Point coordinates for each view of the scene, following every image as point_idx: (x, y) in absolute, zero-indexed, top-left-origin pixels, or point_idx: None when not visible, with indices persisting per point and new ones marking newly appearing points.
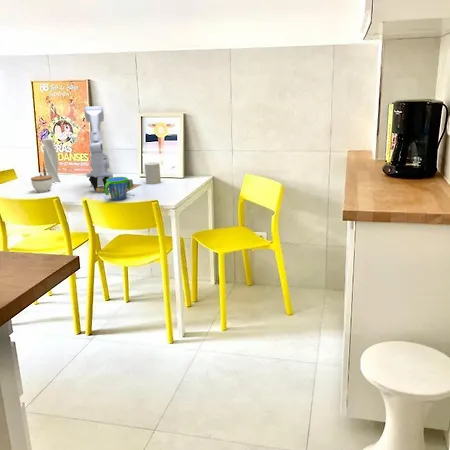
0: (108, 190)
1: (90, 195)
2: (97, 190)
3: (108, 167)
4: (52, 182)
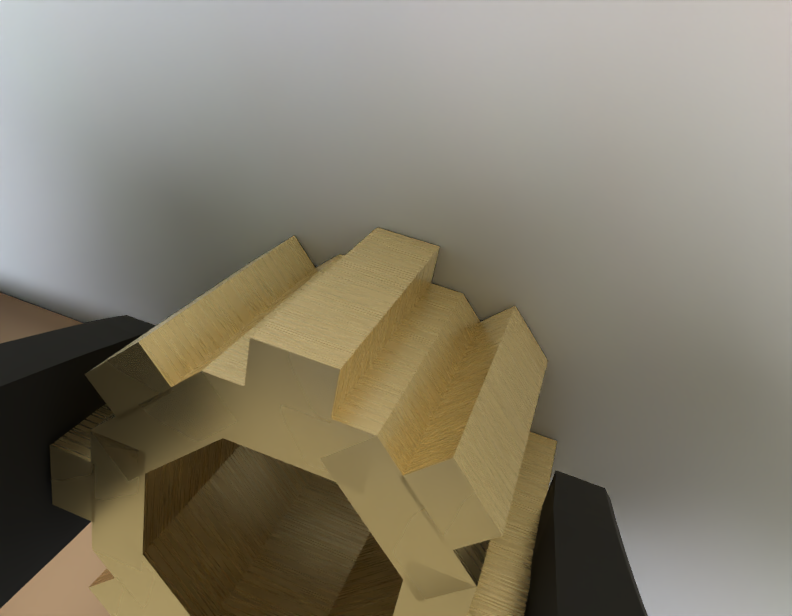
0: None
1: (770, 169)
2: (424, 372)
3: None
4: None
